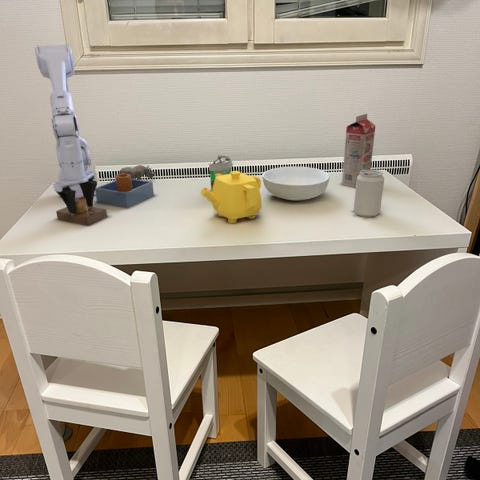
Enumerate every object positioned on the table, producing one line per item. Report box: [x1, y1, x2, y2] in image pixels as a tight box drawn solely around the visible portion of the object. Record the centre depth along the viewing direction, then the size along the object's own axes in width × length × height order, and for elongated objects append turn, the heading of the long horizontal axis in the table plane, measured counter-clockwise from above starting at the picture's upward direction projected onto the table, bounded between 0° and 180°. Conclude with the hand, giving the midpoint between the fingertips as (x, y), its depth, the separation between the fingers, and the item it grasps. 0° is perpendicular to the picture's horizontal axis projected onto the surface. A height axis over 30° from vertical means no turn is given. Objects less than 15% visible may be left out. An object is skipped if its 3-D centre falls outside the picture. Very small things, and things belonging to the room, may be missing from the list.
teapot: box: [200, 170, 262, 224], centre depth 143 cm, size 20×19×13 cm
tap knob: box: [75, 196, 88, 213], centre depth 145 cm, size 4×4×4 cm
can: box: [353, 169, 385, 218], centre depth 143 cm, size 8×8×12 cm
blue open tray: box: [95, 178, 155, 209], centre depth 161 cm, size 12×13×5 cm
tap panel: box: [55, 205, 108, 226], centre depth 147 cm, size 12×9×3 cm
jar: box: [114, 173, 132, 192], centre depth 160 cm, size 5×5×7 cm
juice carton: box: [341, 113, 376, 188], centre depth 166 cm, size 7×7×22 cm
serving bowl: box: [262, 165, 331, 202], centre depth 159 cm, size 21×21×7 cm
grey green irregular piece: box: [208, 154, 234, 192], centre depth 166 cm, size 12×6×10 cm, turn 168°
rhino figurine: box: [118, 164, 157, 180], centre depth 177 cm, size 4×14×6 cm, turn 119°
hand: (81, 209), depth 145 cm, fingers open, 6 cm apart
